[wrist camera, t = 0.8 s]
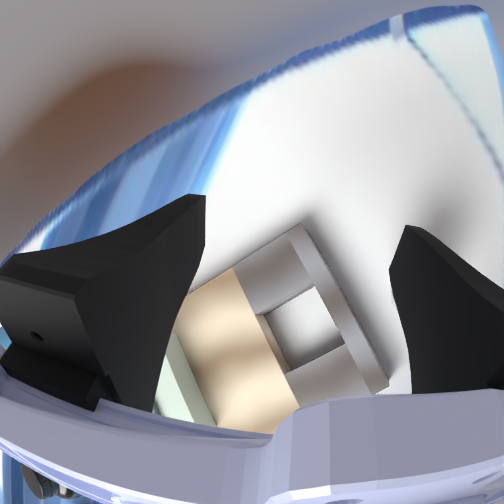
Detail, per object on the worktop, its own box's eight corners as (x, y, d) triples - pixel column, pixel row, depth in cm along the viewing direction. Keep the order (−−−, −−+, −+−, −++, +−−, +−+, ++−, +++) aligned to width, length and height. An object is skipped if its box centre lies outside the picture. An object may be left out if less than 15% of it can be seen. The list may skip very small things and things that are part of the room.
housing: (388, 381, 21) (389, 386, 19) (199, 455, 26) (187, 462, 24) (306, 229, 26) (300, 223, 25) (145, 330, 31) (132, 330, 29)
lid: (217, 426, 24) (196, 437, 21) (183, 437, 25) (161, 446, 22) (176, 333, 27) (152, 333, 24) (146, 349, 28) (122, 350, 25)
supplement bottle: (84, 447, 32) (12, 462, 22) (101, 424, 32) (20, 439, 21) (113, 488, 29) (41, 513, 19) (133, 468, 29) (53, 497, 18)
